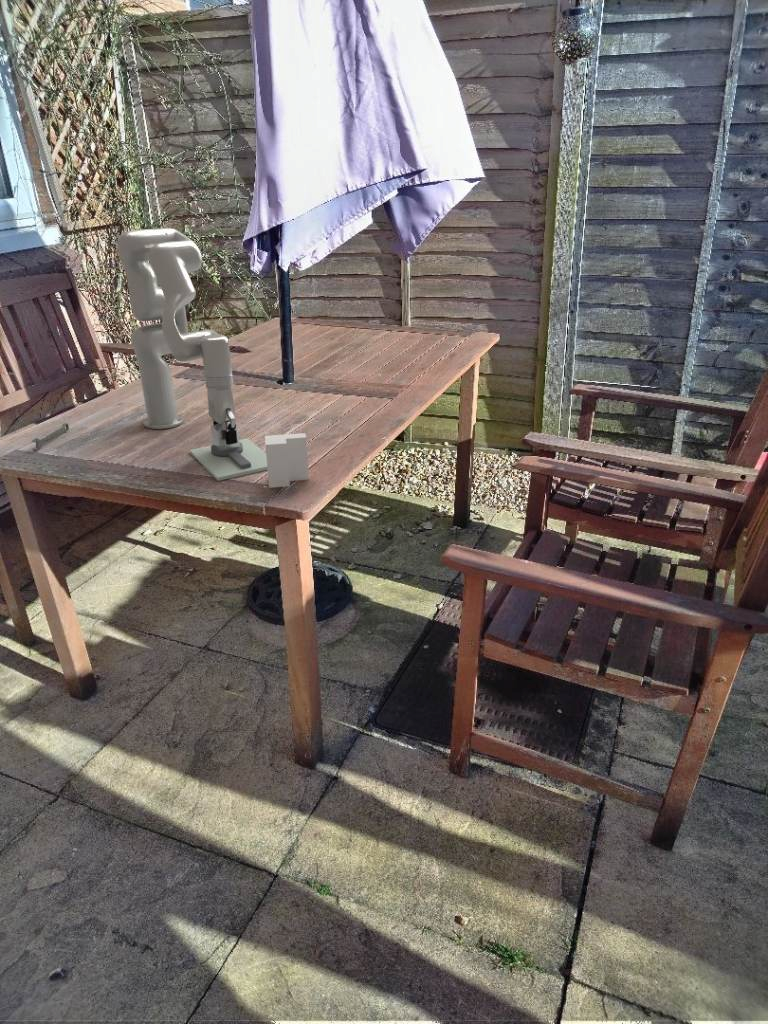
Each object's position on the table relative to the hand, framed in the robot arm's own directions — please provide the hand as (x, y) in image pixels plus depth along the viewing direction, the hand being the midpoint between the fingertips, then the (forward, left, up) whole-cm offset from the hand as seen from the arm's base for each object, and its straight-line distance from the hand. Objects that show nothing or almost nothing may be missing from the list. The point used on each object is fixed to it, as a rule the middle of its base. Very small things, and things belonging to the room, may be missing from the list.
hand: (225, 438), depth 204 cm
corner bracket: (+25, +8, -5) cm, 27 cm away
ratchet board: (+5, 0, -5) cm, 7 cm away
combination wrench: (-41, -42, -5) cm, 59 cm away
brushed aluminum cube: (0, 0, -2) cm, 2 cm away
